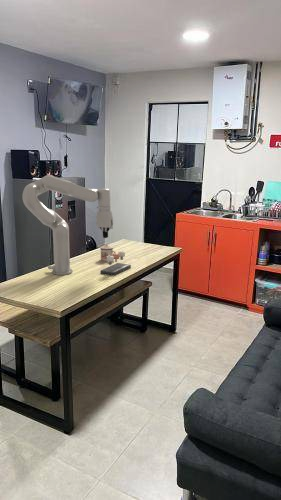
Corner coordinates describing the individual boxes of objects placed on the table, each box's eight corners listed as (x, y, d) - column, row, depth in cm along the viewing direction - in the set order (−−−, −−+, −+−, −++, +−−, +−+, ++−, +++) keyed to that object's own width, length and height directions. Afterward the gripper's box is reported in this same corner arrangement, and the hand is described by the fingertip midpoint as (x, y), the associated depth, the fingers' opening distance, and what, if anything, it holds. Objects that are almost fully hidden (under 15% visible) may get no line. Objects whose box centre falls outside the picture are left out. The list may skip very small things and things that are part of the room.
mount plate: (114, 275, 234) (114, 272, 233) (100, 273, 238) (100, 270, 238) (130, 267, 252) (130, 264, 251) (117, 265, 256) (117, 262, 256)
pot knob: (117, 263, 241) (117, 254, 240) (111, 262, 243) (111, 254, 242) (120, 261, 245) (120, 253, 243) (114, 260, 247) (114, 252, 245)
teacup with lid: (97, 260, 269) (97, 244, 267) (104, 257, 277) (104, 241, 274) (112, 262, 264) (112, 246, 261) (119, 259, 272) (119, 243, 269)
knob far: (122, 260, 247) (122, 252, 246) (117, 259, 249) (117, 251, 248) (126, 259, 251) (126, 251, 249) (120, 258, 253) (120, 250, 251)
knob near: (111, 265, 235) (111, 257, 234) (105, 264, 237) (105, 256, 236) (115, 264, 239) (115, 255, 237) (109, 263, 241) (109, 254, 239)
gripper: (90, 208, 236) (92, 237, 240) (111, 210, 229) (112, 239, 233) (97, 207, 242) (99, 235, 246) (117, 208, 235) (118, 237, 239)
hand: (105, 237), depth 240 cm, fingers closed
